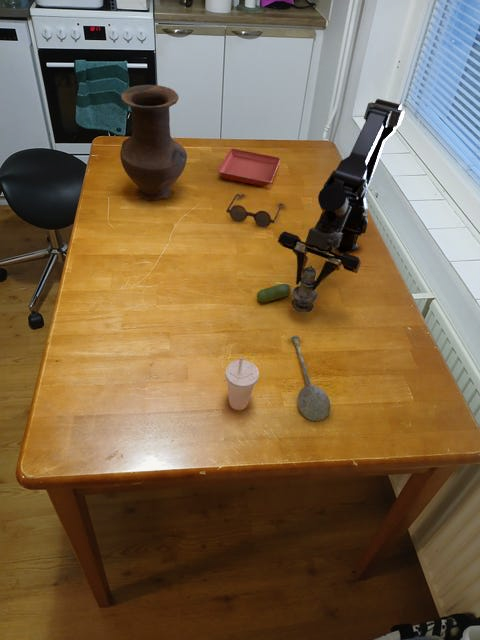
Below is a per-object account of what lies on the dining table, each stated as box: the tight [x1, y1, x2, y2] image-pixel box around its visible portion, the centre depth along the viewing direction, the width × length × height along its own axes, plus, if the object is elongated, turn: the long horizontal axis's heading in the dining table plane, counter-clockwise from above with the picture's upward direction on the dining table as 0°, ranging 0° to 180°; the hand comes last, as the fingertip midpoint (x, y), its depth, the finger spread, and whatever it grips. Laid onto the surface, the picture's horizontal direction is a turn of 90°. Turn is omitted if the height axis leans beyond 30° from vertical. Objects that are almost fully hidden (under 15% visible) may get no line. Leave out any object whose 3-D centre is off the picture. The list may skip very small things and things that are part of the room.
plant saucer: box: [217, 148, 281, 187], centre depth 164 cm, size 18×18×3 cm
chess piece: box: [291, 265, 318, 314], centre depth 112 cm, size 6×6×12 cm
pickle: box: [256, 283, 292, 303], centre depth 121 cm, size 9×3×3 cm, turn 116°
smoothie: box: [224, 356, 260, 411], centre depth 94 cm, size 6×6×14 cm
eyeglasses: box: [226, 193, 284, 228], centre depth 147 cm, size 15×15×5 cm
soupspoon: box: [290, 335, 331, 423], centre depth 104 cm, size 22×3×7 cm
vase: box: [119, 84, 188, 202], centre depth 141 cm, size 19×19×30 cm
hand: (304, 287), depth 110 cm, fingers closed on chess piece, 3 cm apart
